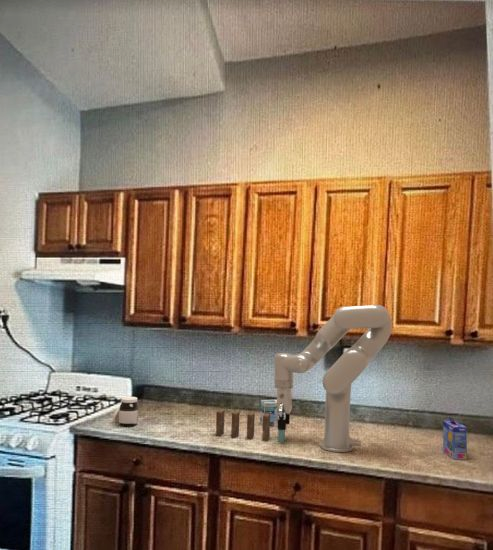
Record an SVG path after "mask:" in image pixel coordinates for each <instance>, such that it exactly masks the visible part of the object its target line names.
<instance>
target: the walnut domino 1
mask: <svg viewBox="0 0 493 550" xmlns="http://www.w3.org/2000/svg"><path fill="white" fill-rule="evenodd" d="M225 411H226V410H225V409H224V408H223V409H222V408H220V409H219V410H217V411H216V422H215V423H216V424H215V437H222V436H223V435H224V434H225V414H226V412H225Z"/></svg>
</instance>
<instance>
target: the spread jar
mask: <svg viewBox="0 0 493 550" xmlns="http://www.w3.org/2000/svg"><path fill="white" fill-rule="evenodd" d="M120 402H121V403H120V405H119V407H117V408H116V410H115V411H114V412H113V414H112V421H113V422H115V423H118V424H119V426H120V427H124V428H134V427H136V426H137V425H138V423H139V403H138V397H136V396H122V397H121V401H120Z"/></svg>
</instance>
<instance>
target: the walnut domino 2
mask: <svg viewBox="0 0 493 550" xmlns="http://www.w3.org/2000/svg"><path fill="white" fill-rule="evenodd" d="M230 429H231V430H230V431H231V432H230V437H231V439H237V438H238V436H239V435H240V410H234V411H232V412H231V428H230Z"/></svg>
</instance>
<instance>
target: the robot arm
mask: <svg viewBox="0 0 493 550" xmlns="http://www.w3.org/2000/svg"><path fill="white" fill-rule="evenodd" d="M330 317H331V318H330V319H328V320H327V321H326V323H324V325H323V326H322V327H320V329H319V330H318V331H317V332H316V334H315V336H314V338H313V340H311V342H310V343H309V345H308V346H306V347H305V348H304V350H303V351H302V352H300V353H298V354H292V353H288V352H279V353H276V354H274V355H275V356H274V389H276V400H277V413H278V426H277V430H285V431H286V429H287V425H289V424H290V423H291V422H290V415H291V414H290V413H291V411H292V410H293V404H292V403H293V399H292V397H293V395H292V389H294V373H297V374H305V373H307V372H308V371H310V370H311V369H313V367H314V366H316V364H317V363H318V362H320V360H321V359H322V358H323V357H324V356H325V355H326V354H327V353H328V352H330V350H332V349H333V348H334V347H335V346H336V345H337V344H338V343H339V341H340V340H341V339H342V338H343V337H344V336H345V335H347V333H349V331H351V330H353V329H360V330H361V329H367V330H366V331H365V332H364V333H363V334H362V335H361V337H360V338H359V339H358V340H357V341H356V342H355V343H354V344H353V345H352V346H351V347H350V348H349V347H348V348H347V350H345V351H344V353H342V354H341V356H340V357H339V358H337V360H336V361H335V362H334V363H333V364H332V365H331V366H330V367H329V369H328V370H326V372H325V373H324V374H323V377H322V387H323V388H324V391H325V407H324V440H322V441H321V442H320V444H319V446H320V448H321V449H323V450H326V451H329V452H333V453H348V452H351V451H352V450H354V446H356V447H361V446H362V441H361V440H358V439H356V438H355V439H353V438H351V435H350V425H351V423H350V422H351V421H350V418H351V417H350V416H351V393H352V383H354V382H355V381H356V380H357V378H358V377H359V376H360V375H361V374H362V373H363V372H364V371H365V370H366V368H367V367H368V365H369V363H371V362H372V360H373V359H374V357H376V355H377V354H379V352H380V350H381V349H383V347H384V346H385V344H386V343H387V342H388V340H389V338H390V337H391V334H392V328H393V325H392V318H391V315H390V313H389V311H388V309H387V308H386V307H384V305H381V304H371V305H358V306H357V305H353V306H349V305H344V306H340V307H338V308H337V309H336V310H335V311H334V314H333V315H332V316H330ZM285 416H286V420H285Z"/></svg>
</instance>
